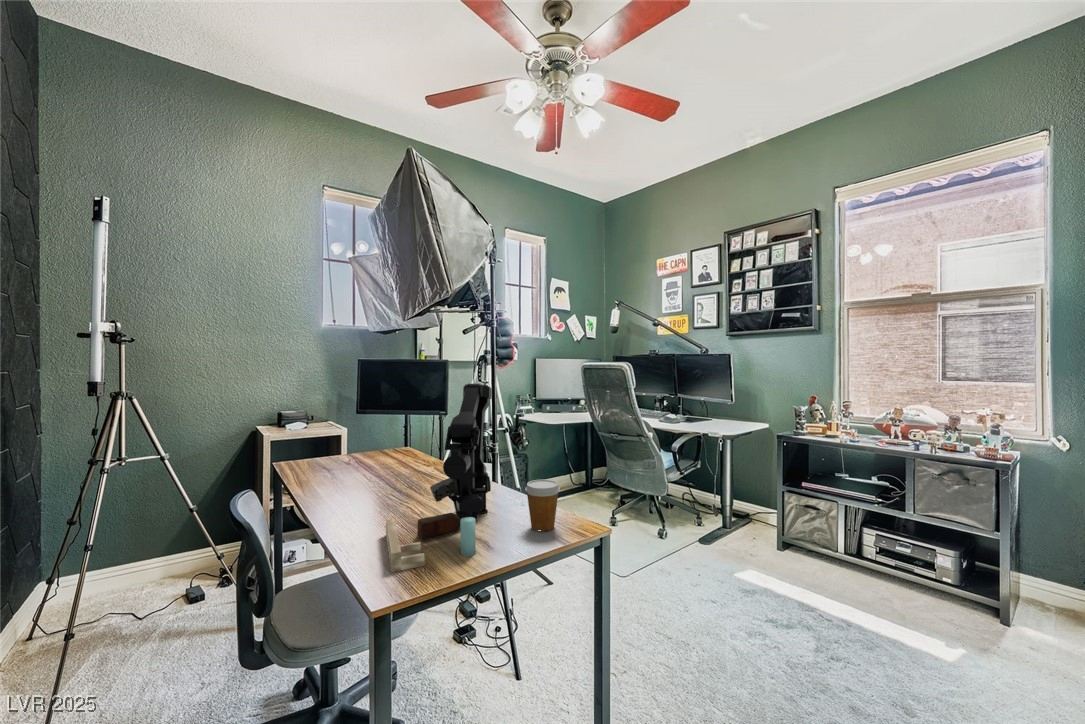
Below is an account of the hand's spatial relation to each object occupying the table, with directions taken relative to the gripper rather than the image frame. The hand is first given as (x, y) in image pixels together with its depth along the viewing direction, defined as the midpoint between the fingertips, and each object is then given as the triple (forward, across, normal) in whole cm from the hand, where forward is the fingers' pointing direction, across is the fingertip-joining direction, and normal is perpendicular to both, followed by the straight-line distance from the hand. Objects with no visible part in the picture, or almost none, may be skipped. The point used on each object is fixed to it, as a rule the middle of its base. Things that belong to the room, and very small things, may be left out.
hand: (463, 527), depth 117 cm
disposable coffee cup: (+2, +5, +21) cm, 21 cm away
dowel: (+2, +12, -2) cm, 13 cm away
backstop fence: (+2, +4, -16) cm, 16 cm away
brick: (+2, -2, -6) cm, 7 cm away
